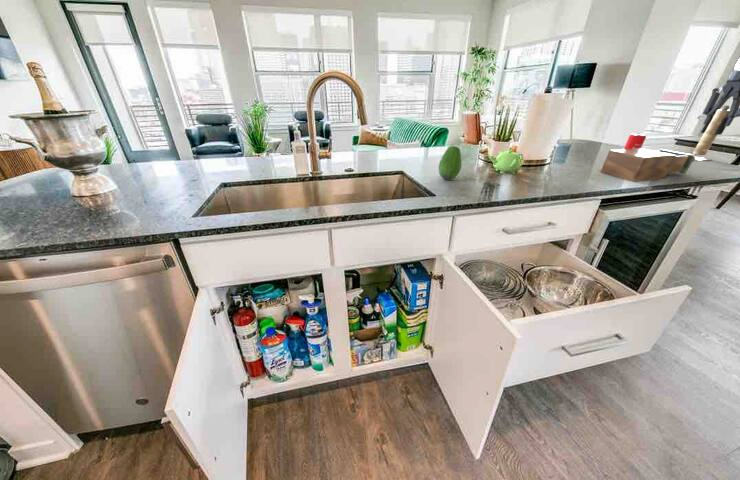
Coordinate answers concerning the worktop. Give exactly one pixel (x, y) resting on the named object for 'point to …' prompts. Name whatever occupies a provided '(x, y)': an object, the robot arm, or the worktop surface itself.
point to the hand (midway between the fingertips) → (710, 133)
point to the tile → (701, 158)
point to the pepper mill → (711, 131)
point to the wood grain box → (637, 164)
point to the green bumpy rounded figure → (507, 161)
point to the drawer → (679, 161)
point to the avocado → (450, 163)
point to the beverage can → (635, 141)
